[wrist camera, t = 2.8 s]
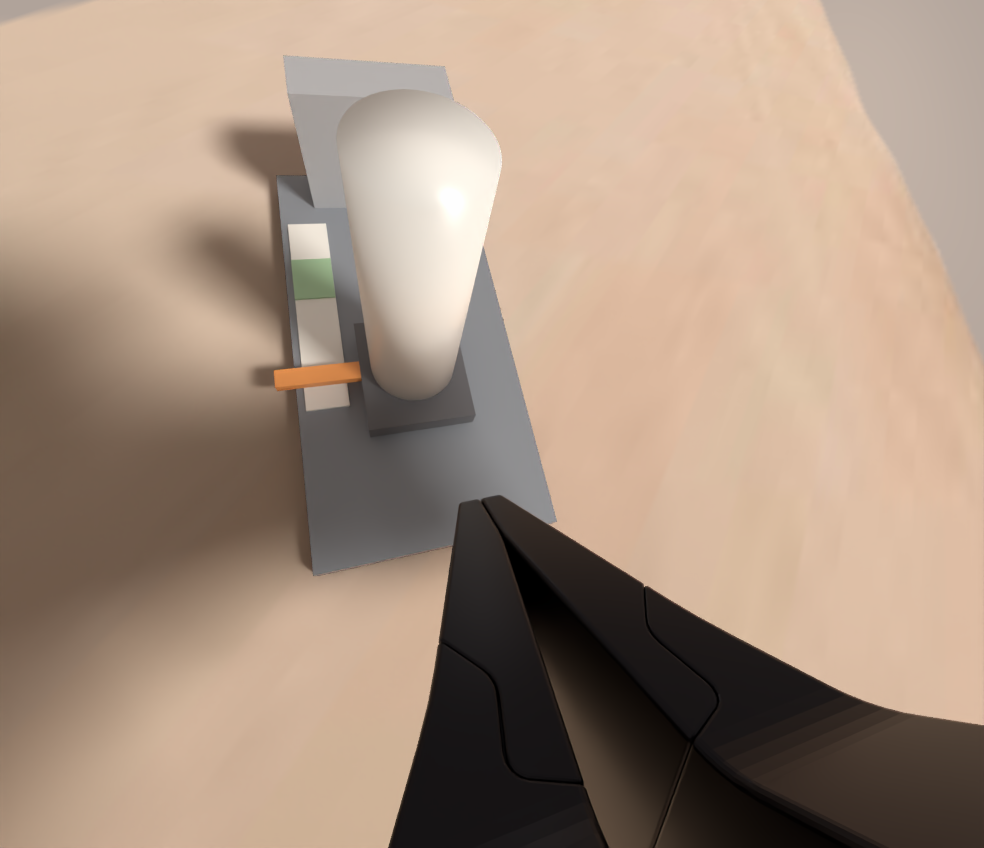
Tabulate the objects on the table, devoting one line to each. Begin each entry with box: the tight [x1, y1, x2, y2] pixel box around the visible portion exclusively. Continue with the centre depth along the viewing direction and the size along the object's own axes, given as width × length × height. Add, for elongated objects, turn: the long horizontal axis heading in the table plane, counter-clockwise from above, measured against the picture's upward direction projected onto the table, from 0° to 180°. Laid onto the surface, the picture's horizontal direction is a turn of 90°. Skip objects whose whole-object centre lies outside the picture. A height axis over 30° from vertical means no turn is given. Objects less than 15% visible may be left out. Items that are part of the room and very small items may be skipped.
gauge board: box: [276, 55, 557, 576], centre depth 16 cm, size 18×9×6 cm, turn 13°
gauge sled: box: [274, 89, 502, 437], centre depth 12 cm, size 4×7×10 cm, turn 103°
